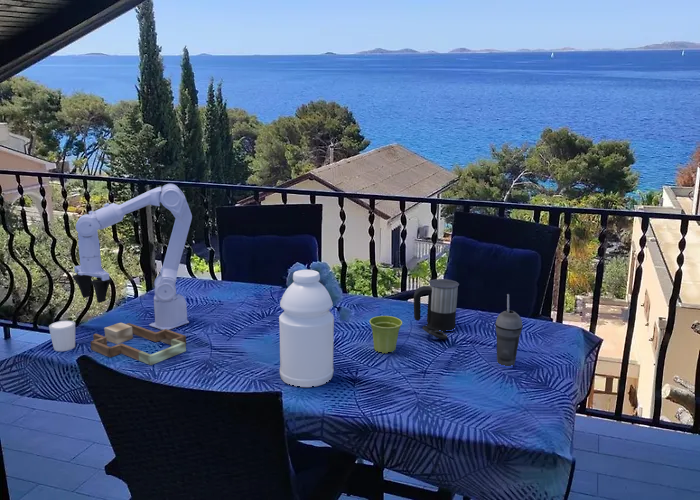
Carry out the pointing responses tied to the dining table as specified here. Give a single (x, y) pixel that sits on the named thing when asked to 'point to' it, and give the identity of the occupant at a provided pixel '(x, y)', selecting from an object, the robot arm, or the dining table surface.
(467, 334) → the dining table surface
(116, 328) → the oak block
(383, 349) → the plant pot
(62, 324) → the white tapered cup
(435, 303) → the milk frother
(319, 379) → the bottle
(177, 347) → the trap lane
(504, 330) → the beverage cup
